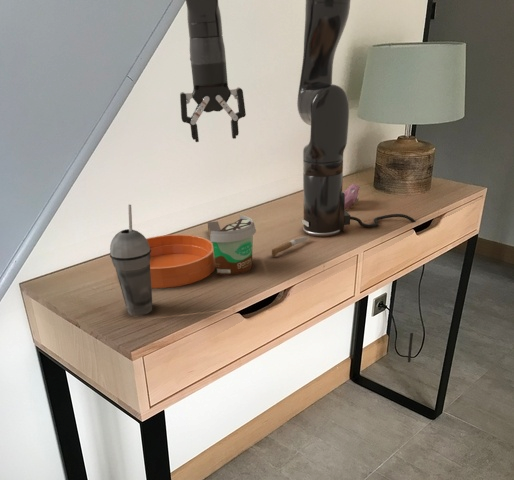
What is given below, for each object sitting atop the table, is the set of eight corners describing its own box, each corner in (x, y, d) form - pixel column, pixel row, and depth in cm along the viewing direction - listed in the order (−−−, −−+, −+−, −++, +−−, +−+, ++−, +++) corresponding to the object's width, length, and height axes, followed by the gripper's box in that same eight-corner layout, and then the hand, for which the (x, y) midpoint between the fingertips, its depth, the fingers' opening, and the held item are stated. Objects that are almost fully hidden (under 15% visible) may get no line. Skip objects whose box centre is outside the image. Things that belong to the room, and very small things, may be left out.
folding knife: (306, 239, 137) (306, 231, 136) (312, 241, 136) (312, 232, 135) (269, 257, 129) (269, 248, 128) (274, 258, 128) (274, 249, 127)
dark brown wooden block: (222, 230, 146) (222, 220, 145) (230, 250, 134) (229, 239, 132) (204, 232, 145) (203, 222, 144) (209, 252, 133) (208, 241, 132)
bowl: (211, 249, 135) (209, 230, 133) (220, 283, 117) (219, 262, 115) (123, 258, 132) (120, 239, 130) (120, 294, 115) (116, 273, 113)
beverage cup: (122, 304, 111) (104, 200, 101) (161, 301, 111) (145, 197, 101) (118, 321, 105) (97, 213, 95) (158, 318, 105) (142, 209, 95)
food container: (239, 283, 117) (235, 235, 112) (213, 278, 120) (209, 231, 115) (267, 262, 126) (266, 217, 121) (243, 258, 129) (240, 214, 124)
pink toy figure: (349, 217, 155) (362, 194, 152) (334, 209, 155) (346, 186, 152) (351, 206, 164) (363, 184, 160) (337, 199, 164) (349, 176, 160)
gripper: (175, 64, 120) (185, 146, 128) (243, 59, 121) (249, 139, 129) (174, 62, 126) (183, 139, 134) (238, 57, 128) (244, 134, 136)
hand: (215, 139), depth 132 cm, fingers open, 8 cm apart
